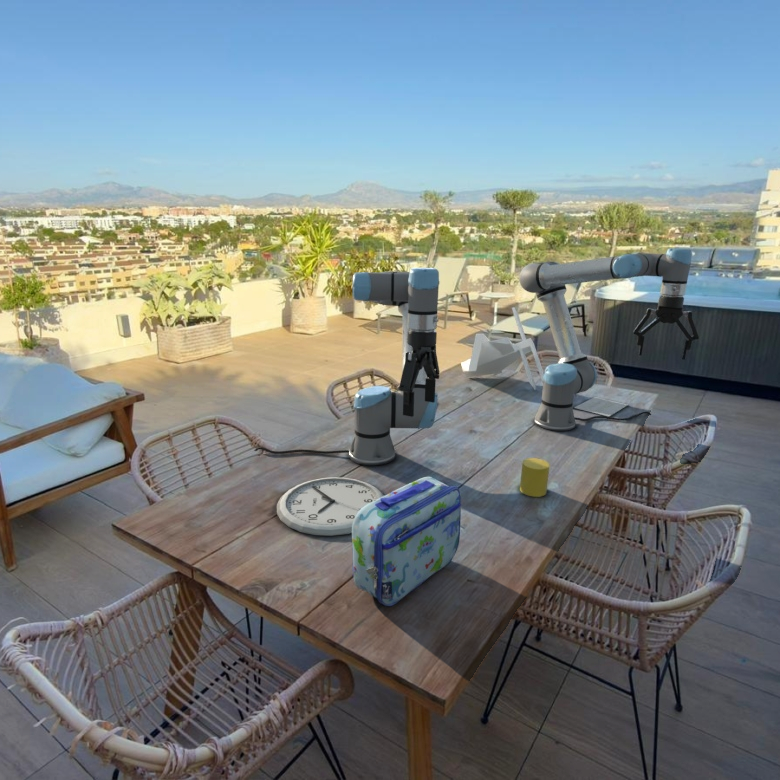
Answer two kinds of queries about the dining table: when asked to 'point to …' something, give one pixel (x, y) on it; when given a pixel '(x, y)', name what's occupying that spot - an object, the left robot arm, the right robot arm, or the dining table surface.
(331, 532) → the wall clock
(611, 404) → the grey flat slab
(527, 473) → the canister
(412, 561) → the lunch box
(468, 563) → the dining table surface
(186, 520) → the dining table surface
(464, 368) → the white plastic object
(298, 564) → the dining table surface
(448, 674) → the dining table surface
